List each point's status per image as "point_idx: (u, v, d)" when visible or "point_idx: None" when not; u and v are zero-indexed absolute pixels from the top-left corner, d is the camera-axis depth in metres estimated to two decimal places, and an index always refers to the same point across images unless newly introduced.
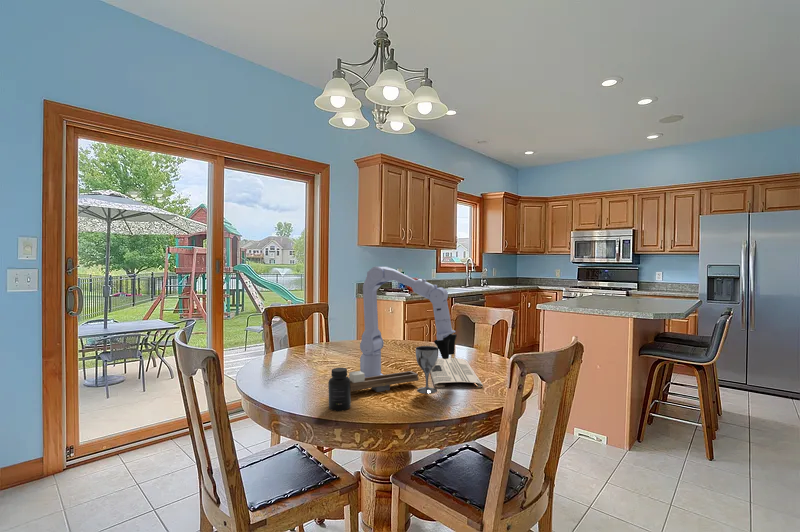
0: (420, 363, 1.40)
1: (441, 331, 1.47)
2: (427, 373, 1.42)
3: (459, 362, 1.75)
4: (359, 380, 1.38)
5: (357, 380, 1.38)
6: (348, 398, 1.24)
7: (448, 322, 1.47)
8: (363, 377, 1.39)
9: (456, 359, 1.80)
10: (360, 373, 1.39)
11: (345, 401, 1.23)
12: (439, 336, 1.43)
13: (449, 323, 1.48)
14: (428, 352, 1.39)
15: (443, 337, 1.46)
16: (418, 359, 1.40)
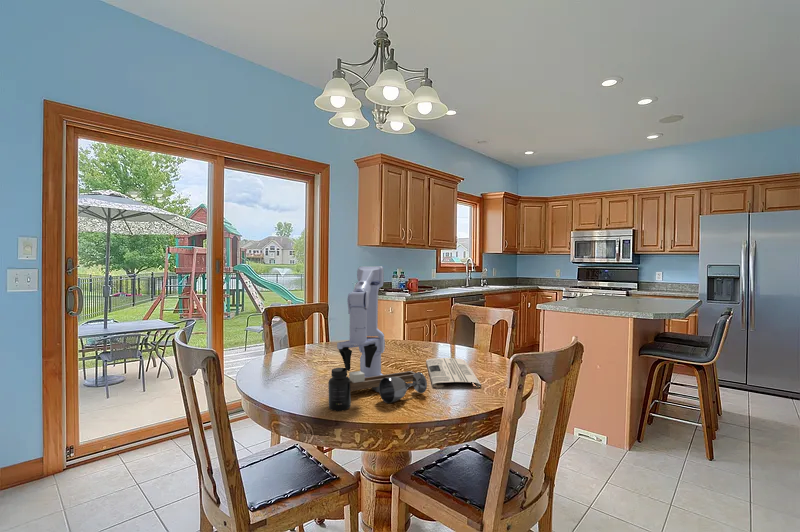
0: None
1: (350, 339, 1.33)
2: (407, 388, 1.35)
3: (458, 362, 1.75)
4: (359, 380, 1.38)
5: (357, 380, 1.38)
6: (348, 398, 1.24)
7: (357, 332, 1.31)
8: (363, 377, 1.39)
9: (455, 359, 1.80)
10: (360, 373, 1.39)
11: (345, 401, 1.23)
12: (338, 344, 1.30)
13: (359, 333, 1.32)
14: (393, 400, 1.28)
15: (349, 346, 1.32)
16: None
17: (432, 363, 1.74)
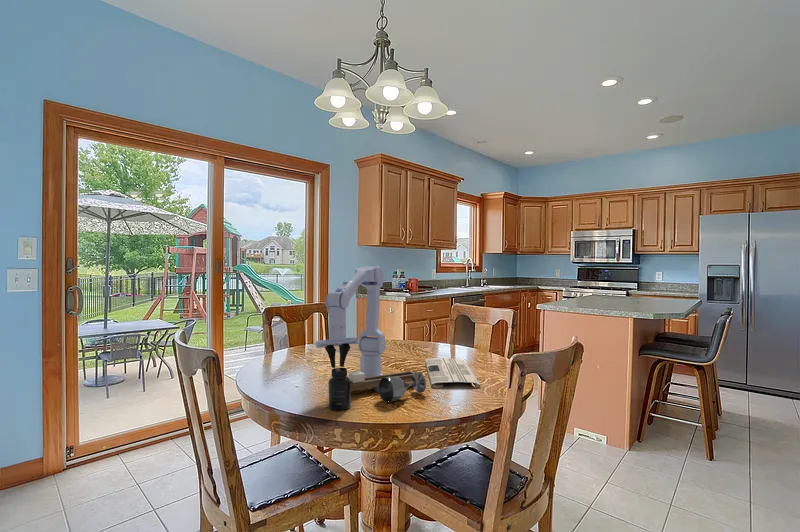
0: None
1: (329, 338, 1.36)
2: (407, 387, 1.35)
3: (457, 362, 1.75)
4: (359, 380, 1.38)
5: (357, 380, 1.38)
6: (348, 398, 1.24)
7: (335, 331, 1.34)
8: (363, 377, 1.39)
9: (454, 359, 1.80)
10: (360, 373, 1.39)
11: (345, 401, 1.23)
12: (316, 343, 1.33)
13: (337, 332, 1.34)
14: (393, 399, 1.28)
15: (327, 345, 1.35)
16: None
17: (431, 363, 1.73)
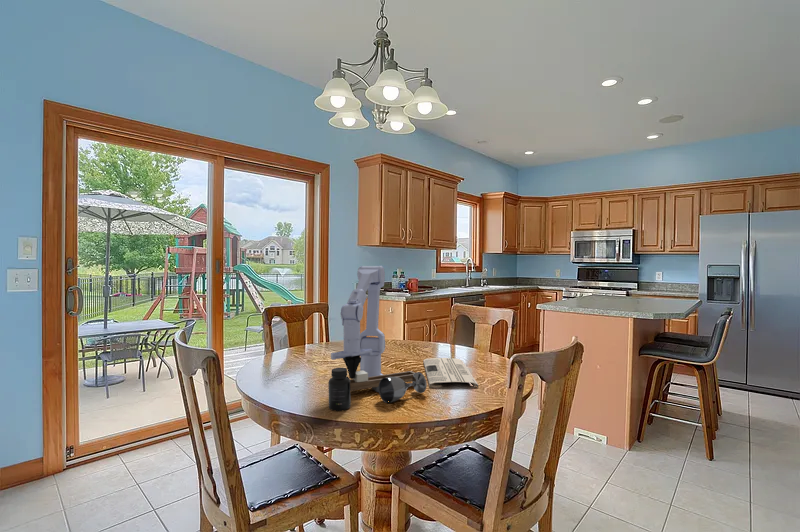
0: None
1: None
2: (407, 387, 1.35)
3: (455, 362, 1.75)
4: (363, 379, 1.39)
5: (361, 379, 1.38)
6: (348, 398, 1.24)
7: (350, 343, 1.36)
8: (366, 377, 1.39)
9: (452, 359, 1.80)
10: (363, 373, 1.40)
11: (345, 401, 1.23)
12: (331, 355, 1.36)
13: (352, 344, 1.36)
14: (393, 400, 1.28)
15: (342, 357, 1.37)
16: None
17: (429, 363, 1.74)
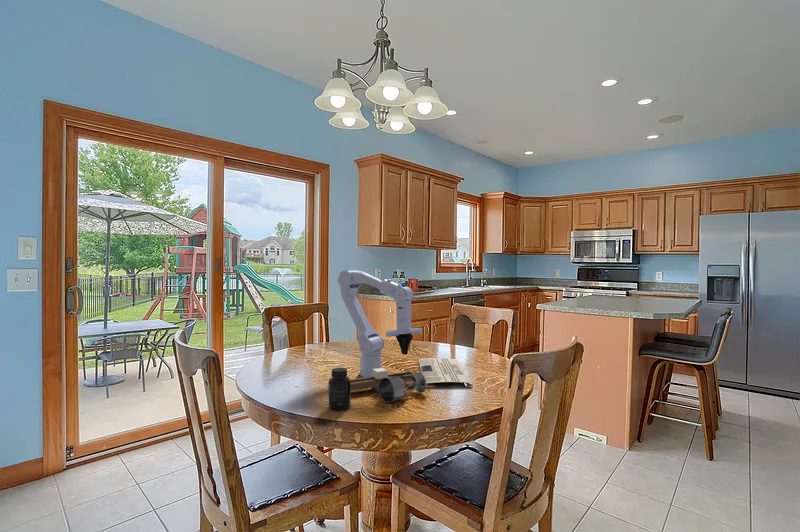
0: None
1: (397, 328, 1.53)
2: (407, 387, 1.35)
3: (450, 362, 1.75)
4: (382, 377, 1.42)
5: (381, 377, 1.42)
6: (348, 398, 1.24)
7: (403, 322, 1.51)
8: (386, 374, 1.43)
9: (447, 359, 1.80)
10: (383, 370, 1.43)
11: (345, 401, 1.23)
12: (387, 333, 1.50)
13: (405, 323, 1.51)
14: (393, 400, 1.28)
15: (396, 334, 1.52)
16: None
17: (424, 363, 1.74)
